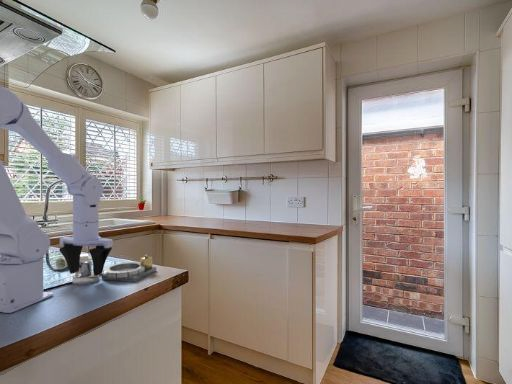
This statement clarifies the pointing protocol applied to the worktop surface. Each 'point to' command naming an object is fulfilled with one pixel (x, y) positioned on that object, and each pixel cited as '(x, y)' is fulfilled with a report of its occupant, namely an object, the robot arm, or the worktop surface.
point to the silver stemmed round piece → (85, 274)
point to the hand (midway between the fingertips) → (86, 273)
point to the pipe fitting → (62, 262)
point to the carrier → (129, 270)
